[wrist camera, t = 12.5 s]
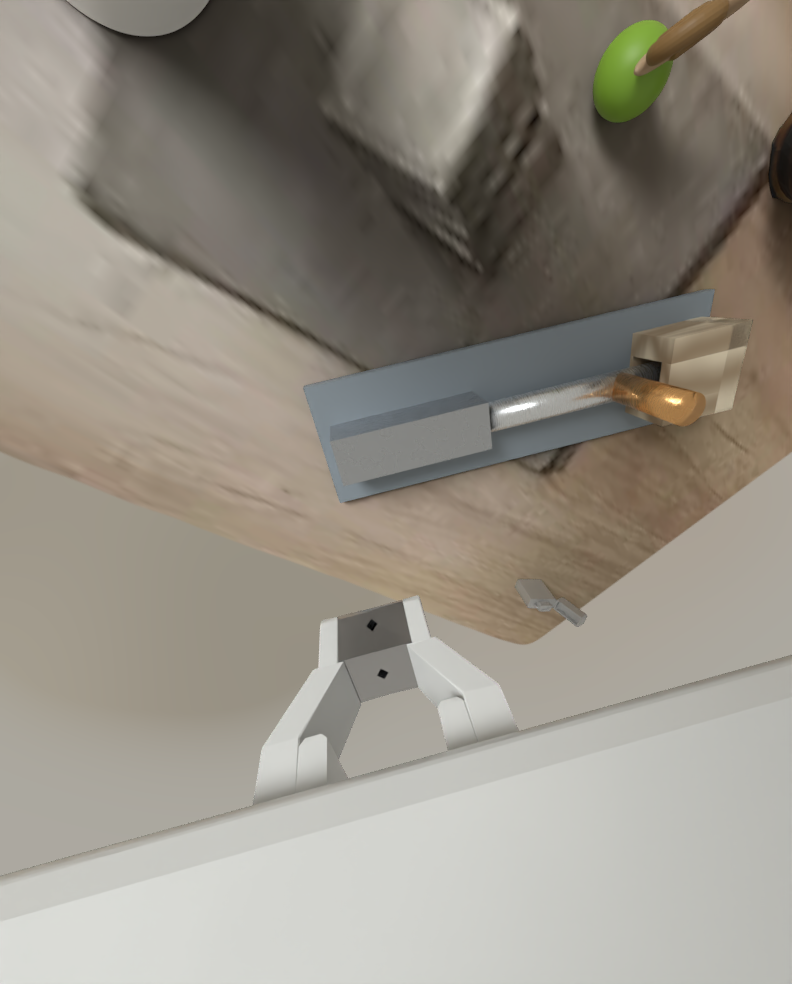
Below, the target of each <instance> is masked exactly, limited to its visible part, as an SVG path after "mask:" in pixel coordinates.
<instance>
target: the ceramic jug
mask: <svg viewBox="0 0 792 984" xmlns="http://www.w3.org/2000/svg"><path fill="white" fill-rule="evenodd" d="M772 146H773V148H772V154H771V166H770V170H769V182H770V188H771V193H772V197H773V198H777V199H782V200H783V201H784V202H786V203H790V204H792V113H791V114H790V116H789V117H788V119H787V120H786V121H785V123H784V124H783V125H782V126H781V127H780V129H779V131H778V133H777V135H776V137H775V139H774V141H773V143H772Z"/></svg>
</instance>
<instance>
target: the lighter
mask: <svg viewBox="0 0 792 984" xmlns="http://www.w3.org/2000/svg"><path fill="white" fill-rule="evenodd" d="M515 588H516V590H517V591H518V593H519V595H520V596H521V598H522V599H523V601H524V603H525V604H526V606H527V607H528V608H537V609H538V610H539V611H550V610H551V608H553V609H554V610H556V611H557V612H558V613H559V614H561V615H562V616H563V617H565V618H566V619H567V620H569V621H570V622H571V623H572V624H574V625H575V626H577V627H579V626H580V625H582V624H583V623H584V621H585V619H586V617H587V615H586V614H585V613H584V612H582V611H581V610H580V609H578V608H577V607H575V606H574V605H573V604H571V603H570V602H569V601H567V600H566V599H565V598H563V597H561V598H559V599H557V600H556V599H555V598H554V596H553V595H552V594H551V592H550V591H549V590H548V588H547V587H546V586H545V584H544V583H543V581H542V580H539V579H518V580H517V582H516V585H515Z"/></svg>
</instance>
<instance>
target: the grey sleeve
mask: <svg viewBox="0 0 792 984" xmlns="http://www.w3.org/2000/svg"><path fill="white" fill-rule="evenodd" d="M330 444H331V447H332V450H333V454H334V457H335V460H336V463H337V467H338V470H339V473H340V476H341V480H342V483H343V486H347V485H351V484H355V483H359V482H362V481H366V480H370V479H374V478H378V477H382V476H386V475H390V474H394V473H398V472H402V471H406V470H410V469H414V468H418V467H422V466H426V465H430V464H434V463H438V462H442V461H446V460H450V459H454V458H458V457H462V456H466V455H470V454H474V453H478V452H482V451H486V450H490V449H492V440H491V427H490V415H489V403H488V402H487V401H485V400H484V399H482V398H481V397H480V396H478V395H477V394H475V393H474V392H472V391H471V392H467V393H463V394H458V395H454V396H450V397H446V398H442V399H438V400H434V401H430V402H426V403H422V404H418V405H414V406H410V407H405V408H401V409H397V410H393V411H389V412H385V413H381V414H377V415H373V416H369V417H365V418H361V419H357V420H352V421H348V422H344V423H340V424H336V425H332V426H330Z"/></svg>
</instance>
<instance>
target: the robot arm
mask: <svg viewBox="0 0 792 984" xmlns="http://www.w3.org/2000/svg"><path fill="white" fill-rule="evenodd" d="M66 1H68V2H69V3H70V4H71V5H73V6H74V7H75V8H76V9H78V10H79V11H81V12H82V13H83V14H85V15H86V16H88V17H89V18H91V19H93V20H95V21H96V22H98V23H100V24H102V25H104V26H106V27H108V28H111V29H113V30H116V31H119V32H122V33H126V34H130V35H136V36H159V35H164V34H168V33H171V32H174V31H176V30H178V29H180V28H182V27H184V26H185V25H187V24H188V23H190V22H191V21H192V20H193V19H194V18H195V17H196V16H197V15H198V14H199V13H200V12H201V11H202V10H203V9H204V7H205V6H206V4H207V3H208V1H209V0H66ZM416 687H419V689H420V690H421V691H422V692H423V693H424V695H425V696H426V697H427V698H428V699H429V700H430V701H431V702H432V703H433V704H434V705H435V706H436V707H437V708H438V711H439V715H440V719H441V724H442V728H443V732H444V736H445V741H446V745H447V749H448V751H446V752H442V753H438V754H435V755H431V756H428V757H424V758H421V759H417V760H413V761H410V762H406V763H403V764H399V765H396V766H392V767H388V768H385V769H381V770H378V771H374V772H370V773H367V774H363V775H360V776H356V777H353V778H349V779H348V777H347V775H346V773H345V771H344V769H343V767H342V765H341V763H340V761H339V757H340V755H341V752H342V750H343V747H344V745H345V743H346V740H347V738H348V736H349V733H350V730H351V728H352V726H353V723H354V721H355V718H356V716H357V714H358V711H359V709H360V706H361V703H362V702H365V701H368V700H371V699H375V698H378V697H381V696H385V695H388V694H392V693H396V692H400V691H404V690H408V689H412V688H416ZM0 984H792V655H789V656H786V657H782V658H779V659H775V660H772V661H768V662H764V663H761V664H757V665H754V666H750V667H746V668H743V669H739V670H736V671H732V672H728V673H725V674H721V675H718V676H714V677H711V678H707V679H704V680H700V681H696V682H693V683H689V684H685V685H682V686H678V687H675V688H672V689H668V690H664V691H660V692H657V693H653V694H650V695H646V696H642V697H639V698H635V699H632V700H628V701H625V702H621V703H618V704H614V705H610V706H607V707H603V708H599V709H596V710H592V711H589V712H585V713H582V714H578V715H574V716H571V717H567V718H564V719H560V720H556V721H553V722H549V723H546V724H542V725H539V726H535V727H531V728H528V729H525V730H521V731H519V730H518V727H517V725H516V723H515V720H514V718H513V716H512V713H511V711H510V709H509V706H508V704H507V702H506V699H505V697H504V694H503V692H502V690H501V688H500V685H499V684H498V683H497V682H495V681H494V680H493V679H492V678H490V677H489V676H488V675H486V674H485V673H484V672H482V671H481V670H480V669H478V668H477V667H476V666H474V665H473V664H472V663H470V662H469V661H468V660H466V659H465V658H464V657H463V656H461V655H460V654H458V653H457V652H456V651H455V650H453V649H452V648H451V647H449V646H448V645H447V644H445V643H444V642H442V641H441V640H440V639H439V638H437V637H433V638H431V635H430V631H429V628H428V625H427V621H426V618H425V614H424V611H423V607H422V604H421V600H420V597H419V596H418V595H417V596H414V597H410V598H407V599H403V602H402V600H400V601H396V602H392V603H389V604H385V605H381V606H378V607H374V608H371V609H367V610H363V611H359V612H355V613H350V614H346V615H342V616H339V617H335V618H331V619H326V620H322V622H321V625H320V643H319V668H317V669H314V670H313V671H312V673H311V674H310V676H309V677H308V679H307V680H306V682H305V683H304V685H303V686H302V688H301V689H300V691H299V693H298V694H297V695H296V697H295V699H294V700H293V702H292V703H291V705H290V706H289V708H288V709H287V711H286V712H285V714H284V715H283V717H282V718H281V720H280V721H279V723H278V725H277V726H276V728H275V729H274V731H273V732H272V734H271V735H270V737H269V738H268V740H267V741H266V743H265V744H264V746H263V747H262V752H261V758H260V764H259V770H258V776H257V782H256V789H255V795H254V801H253V805H252V806H249V807H245V808H241V809H238V810H235V811H231V812H227V813H224V814H220V815H216V816H213V817H210V818H206V819H202V820H199V821H195V822H191V823H188V824H184V825H181V826H177V827H173V828H170V829H167V830H163V831H159V832H156V833H152V834H148V835H145V836H141V837H137V838H134V839H130V840H127V841H123V842H120V843H116V844H112V845H109V846H105V847H102V848H98V849H95V850H91V851H87V852H84V853H80V854H77V855H73V856H69V857H66V858H62V859H58V860H55V861H51V862H48V863H44V864H40V865H37V866H33V867H30V868H26V869H23V870H19V871H16V872H12V873H8V874H5V875H2V876H0Z"/></svg>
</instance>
